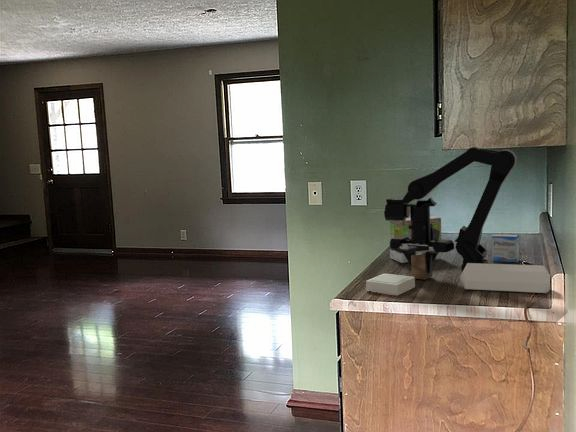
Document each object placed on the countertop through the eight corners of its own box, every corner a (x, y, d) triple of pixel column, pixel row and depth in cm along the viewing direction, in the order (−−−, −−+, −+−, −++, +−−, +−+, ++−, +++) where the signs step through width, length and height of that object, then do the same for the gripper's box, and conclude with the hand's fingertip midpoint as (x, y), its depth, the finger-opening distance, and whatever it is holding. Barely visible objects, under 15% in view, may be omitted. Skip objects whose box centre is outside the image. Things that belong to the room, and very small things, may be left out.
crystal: (456, 278, 163) (552, 282, 153) (459, 261, 168) (552, 263, 158) (458, 297, 167) (552, 303, 157) (461, 280, 172) (552, 284, 162)
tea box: (402, 264, 201) (401, 220, 199) (389, 258, 211) (388, 217, 209) (442, 259, 205) (441, 216, 203) (428, 254, 215) (427, 213, 213)
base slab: (415, 287, 171) (414, 276, 171) (397, 295, 163) (396, 284, 163) (384, 283, 177) (384, 272, 177) (366, 291, 170) (365, 280, 169)
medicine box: (491, 261, 197) (491, 236, 196) (494, 259, 201) (493, 233, 199) (517, 263, 193) (517, 236, 192) (519, 260, 197) (518, 234, 196)
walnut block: (432, 276, 181) (431, 253, 180) (425, 279, 177) (424, 256, 176) (418, 274, 184) (418, 252, 183) (411, 278, 180) (410, 255, 179)
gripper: (461, 218, 178) (462, 269, 180) (405, 216, 190) (407, 264, 192) (444, 224, 170) (446, 277, 172) (387, 221, 182) (389, 271, 184)
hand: (421, 272), depth 180 cm, fingers closed on walnut block, 4 cm apart
